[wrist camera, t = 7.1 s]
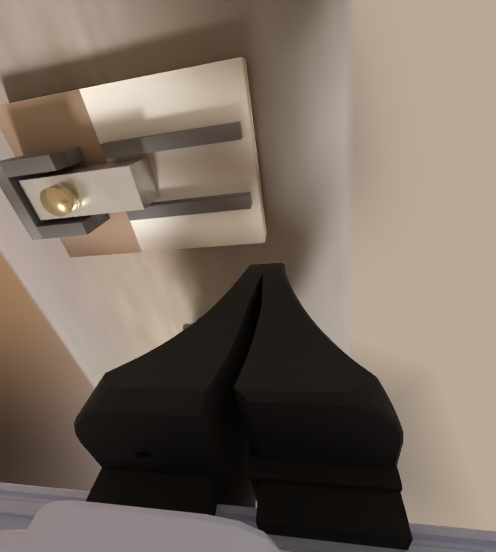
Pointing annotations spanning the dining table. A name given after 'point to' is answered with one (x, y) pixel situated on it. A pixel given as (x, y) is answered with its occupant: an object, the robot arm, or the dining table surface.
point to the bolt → (91, 189)
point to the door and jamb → (160, 155)
